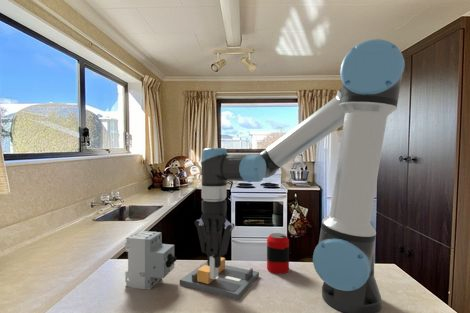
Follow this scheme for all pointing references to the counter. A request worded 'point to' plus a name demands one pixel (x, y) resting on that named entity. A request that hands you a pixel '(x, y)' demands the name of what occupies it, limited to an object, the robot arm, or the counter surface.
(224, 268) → the tab
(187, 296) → the counter surface
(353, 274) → the robot arm
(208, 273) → the tab
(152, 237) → the circuit breaker
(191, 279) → the switch board
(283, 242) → the soda can
